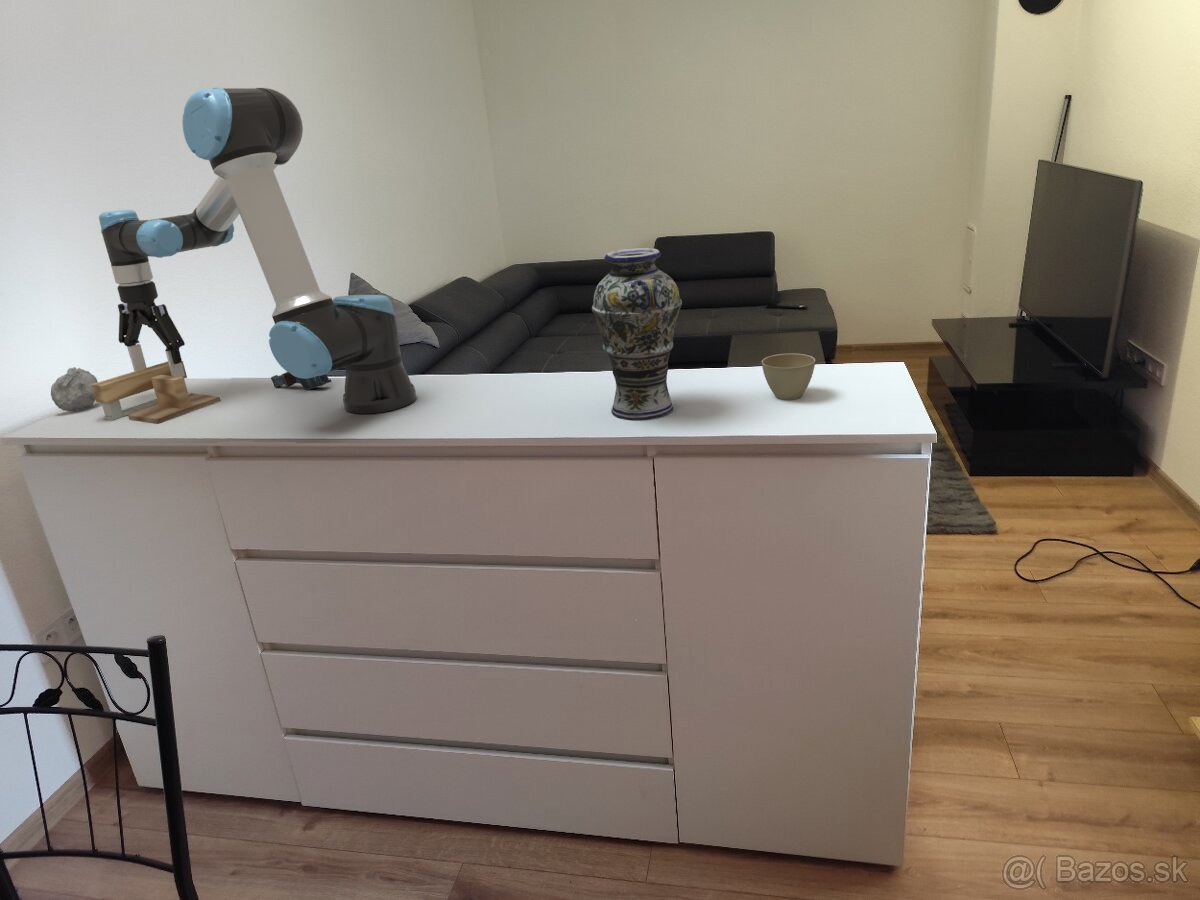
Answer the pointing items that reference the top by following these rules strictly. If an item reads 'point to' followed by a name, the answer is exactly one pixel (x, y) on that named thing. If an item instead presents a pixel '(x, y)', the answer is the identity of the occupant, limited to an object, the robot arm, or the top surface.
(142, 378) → the bar
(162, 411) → the fulcrum
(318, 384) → the gun
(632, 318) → the vase
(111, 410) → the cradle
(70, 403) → the stone
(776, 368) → the flower pot
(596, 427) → the top surface
